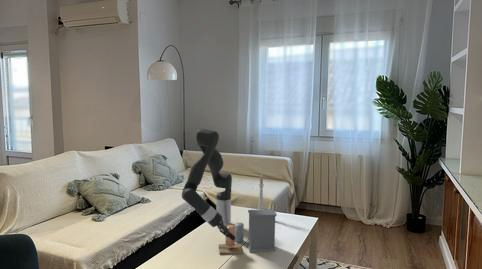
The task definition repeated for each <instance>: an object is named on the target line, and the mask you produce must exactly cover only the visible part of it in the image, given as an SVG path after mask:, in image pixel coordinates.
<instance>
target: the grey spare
mask: <svg viewBox="0 0 482 269" xmlns="http://www.w3.org/2000/svg"><path fill="white" fill-rule="evenodd" d="M234 226H235V244H237V243H240V244H241V243H244V232H245V230H244V226H245V225H244V223H243V222H235V223H234Z"/></svg>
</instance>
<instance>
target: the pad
mask: <svg viewBox="0 0 482 269" xmlns="http://www.w3.org/2000/svg"><path fill="white" fill-rule="evenodd" d="M218 252H219V255H220V256H221V255H223V256H224V255H239V254H240V255H241V254H243V248H242V245H241V243H235V245H234V246H231V247H230V246H226V245H225V243H219V244H218Z"/></svg>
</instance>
